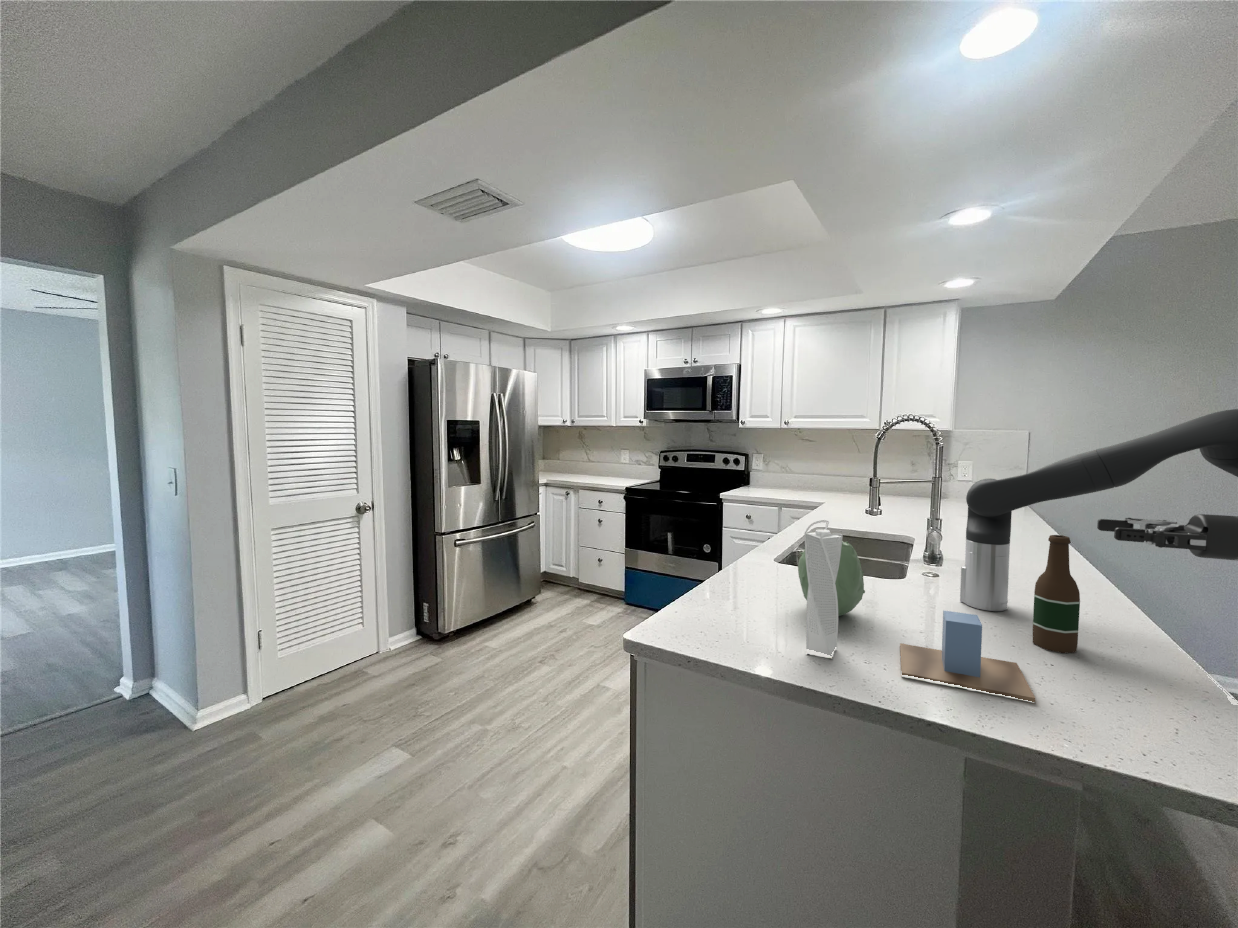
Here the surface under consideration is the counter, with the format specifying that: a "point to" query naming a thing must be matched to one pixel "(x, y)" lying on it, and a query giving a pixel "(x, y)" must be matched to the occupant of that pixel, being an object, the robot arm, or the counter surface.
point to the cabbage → (841, 579)
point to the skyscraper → (822, 588)
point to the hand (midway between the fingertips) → (1106, 528)
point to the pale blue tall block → (961, 643)
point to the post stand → (992, 675)
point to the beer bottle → (1056, 601)
